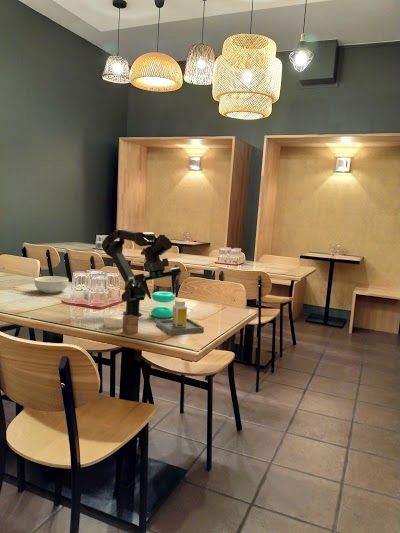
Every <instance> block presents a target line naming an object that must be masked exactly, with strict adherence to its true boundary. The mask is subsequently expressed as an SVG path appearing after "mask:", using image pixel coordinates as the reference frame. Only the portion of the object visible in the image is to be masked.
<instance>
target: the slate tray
mask: <svg viewBox="0 0 400 533" xmlns="http://www.w3.org/2000/svg"><path fill="white" fill-rule="evenodd" d="M155 325H156V326H157V327H159V328H160V329H161V330H162V331H164V332H166V333H167V334H168V335H169V336H172V335H182V334H193V333H194V334H196V333H204V330H205V327H204V326H202V325H201V324H199V323H198V322H196V321H194V320H192V319H190V318H188V317H187V319H186V326H185V327H182V328H177V327H174V326H172V318H171V319H158V320H156V324H155Z"/></svg>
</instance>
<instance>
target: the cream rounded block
mask: <svg viewBox="0 0 400 533" xmlns="http://www.w3.org/2000/svg"><path fill="white" fill-rule="evenodd" d="M123 316H124V315H122V314H108V315H105V316H104V317H103V319H104V320H103V326H105V327H104V328H106V329H111V328H118V329H123Z"/></svg>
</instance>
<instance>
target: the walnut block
mask: <svg viewBox="0 0 400 533" xmlns="http://www.w3.org/2000/svg"><path fill="white" fill-rule="evenodd" d="M121 329H122V333H125V334H127V335H134V334H138V332H139V316H134V315H123V328H121Z"/></svg>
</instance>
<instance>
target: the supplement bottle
mask: <svg viewBox="0 0 400 533" xmlns="http://www.w3.org/2000/svg"><path fill="white" fill-rule="evenodd" d="M172 305H173V306H172V309H173V314H172V317H171V319H172V326H174V327H177V328H182V327H185V326H186V319H187V318H188V317H187V315H188V306H187V305H186V300H185V299H174V304H172Z"/></svg>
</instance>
